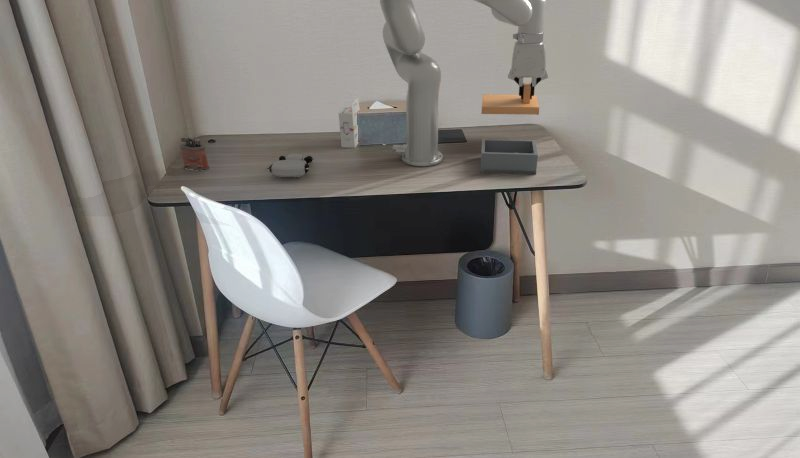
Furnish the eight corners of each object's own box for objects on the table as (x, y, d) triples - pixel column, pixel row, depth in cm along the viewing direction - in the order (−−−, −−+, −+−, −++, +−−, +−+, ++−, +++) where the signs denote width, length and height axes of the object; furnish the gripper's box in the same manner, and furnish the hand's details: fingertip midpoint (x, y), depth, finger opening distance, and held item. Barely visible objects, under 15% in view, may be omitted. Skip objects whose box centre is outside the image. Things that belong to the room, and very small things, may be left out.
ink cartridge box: (347, 138, 205) (344, 96, 198) (361, 139, 205) (359, 96, 198) (340, 147, 198) (337, 103, 191) (355, 148, 197) (352, 104, 190)
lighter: (211, 167, 186) (205, 136, 181) (205, 171, 183) (199, 140, 178) (188, 165, 188) (182, 134, 183) (182, 169, 185) (175, 138, 180)
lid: (481, 113, 188) (482, 90, 184) (482, 101, 200) (482, 79, 196) (538, 114, 186) (540, 91, 182) (536, 101, 197) (537, 79, 194)
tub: (480, 172, 178) (481, 153, 175) (481, 157, 188) (481, 138, 185) (536, 174, 176) (537, 154, 173) (533, 158, 186) (535, 140, 183)
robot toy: (278, 165, 188) (266, 181, 175) (277, 151, 187) (264, 166, 173) (317, 165, 188) (308, 182, 174) (316, 151, 186) (306, 167, 172)
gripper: (503, 40, 179) (500, 101, 188) (558, 40, 177) (552, 101, 186) (503, 35, 186) (500, 94, 195) (556, 35, 184) (550, 94, 193)
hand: (526, 97), depth 190 cm, fingers closed on lid
